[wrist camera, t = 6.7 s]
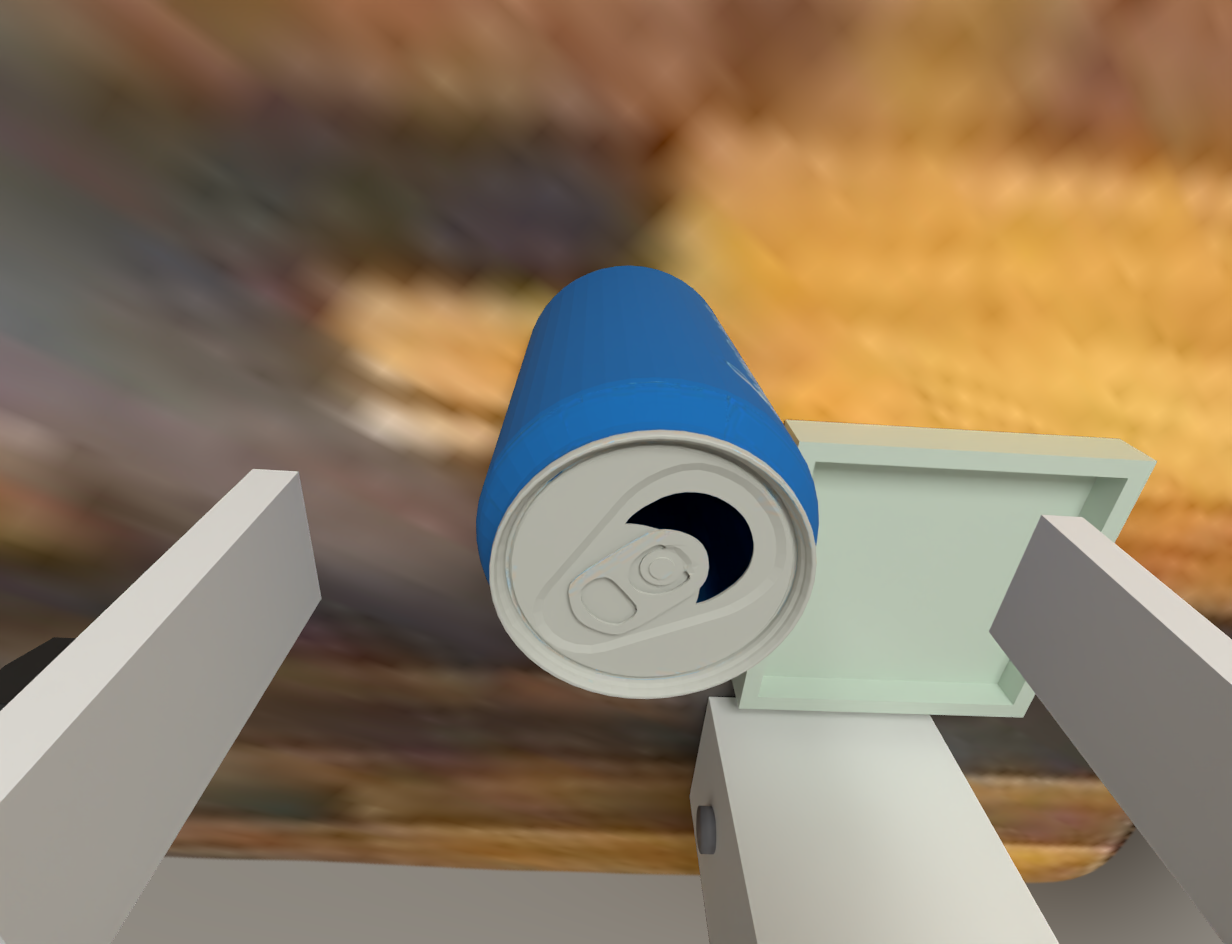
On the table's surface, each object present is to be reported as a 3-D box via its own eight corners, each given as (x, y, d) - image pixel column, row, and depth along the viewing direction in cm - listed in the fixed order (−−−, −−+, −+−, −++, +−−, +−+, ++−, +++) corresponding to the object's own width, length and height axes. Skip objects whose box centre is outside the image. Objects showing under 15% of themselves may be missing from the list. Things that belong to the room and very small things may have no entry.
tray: (730, 676, 29) (738, 708, 27) (785, 419, 23) (799, 441, 21) (999, 685, 29) (1023, 717, 28) (1119, 438, 24) (1157, 461, 22)
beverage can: (758, 378, 22) (905, 609, 11) (607, 478, 24) (614, 761, 13) (649, 216, 20) (710, 321, 9) (489, 342, 21) (380, 554, 11)
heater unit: (678, 800, 33) (733, 1249, 20) (698, 691, 29) (782, 1152, 16) (889, 804, 33) (1079, 1244, 20) (934, 699, 30) (1200, 1149, 17)
